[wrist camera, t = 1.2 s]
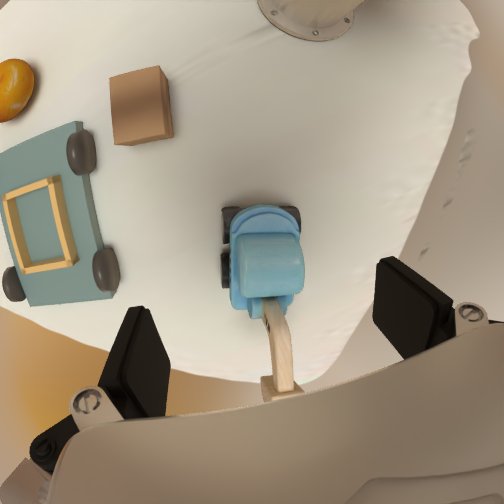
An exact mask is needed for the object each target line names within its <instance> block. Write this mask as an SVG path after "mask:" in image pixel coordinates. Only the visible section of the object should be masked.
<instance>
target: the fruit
mask: <svg viewBox="0 0 504 504" xmlns="http://www.w3.org/2000/svg"><path fill="white" fill-rule="evenodd" d="M33 86H34V75H33V72H32V70H31V68H30V66H29V65H28V63H27V62H25V61H23V60H20V59H8V60H6V61H4V62H2V63H0V123H2V122H6V121H8V120H10V119H12V118H14V117H15V116H16V115H17V114H18V113H19V112H20V111H21V110H22V109H23V108H24V107H25V106H26V104H27V102H28V100H29V98H30V96H31V94H32V91H33Z"/></svg>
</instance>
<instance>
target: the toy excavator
mask: <svg viewBox="0 0 504 504" xmlns="http://www.w3.org/2000/svg"><path fill="white" fill-rule="evenodd" d="M221 211H222V235H223V236H222V237H223V244H227V243H230V253H222V254H221V283H222V288H230V300H231V304H232V307H233V308H234V309H236V310H246V309H248V312H249V316H250V318H251V319H257V318H262V320H263V322H264V325H265V327H266V330H267V332H268V336H269V341H270V350H271V360H272V371H273V375H271V376H262V377H261V390H262V396H263V400H264V402H269V401H274V400H278V399H283V398H287V397H291V396H295V395H299V394H303V393H305V392H304V391H303V390H302V389H301V388H300V387H299V386H298V385H297V383H296V382H295V381H294V378H293V357H292V344H291V336H290V331H289V327H288V324H287V322H286V320H285V317H284V315H285V314H286V311H287V306H289V305H290V304H291V303H292V301H293V297H294V294H298V293H300V292H301V291H302V289H303V286H304V277H305V267H304V258H303V253H302V249H301V246H300V244H299V240H300V232H301V217H300V213H299V210H298V208H296V207H294V206H279V207H277V206H273V205H266V204H261V205H255V206H251V207H248V208H246V209H244V210H243V209H240V208H239V207H224V208H222V210H221Z"/></svg>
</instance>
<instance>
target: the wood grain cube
mask: <svg viewBox="0 0 504 504" xmlns="http://www.w3.org/2000/svg"><path fill="white" fill-rule="evenodd" d="M109 79H110V100H111V114H112V126H113V136H114V144H115V145H126V146H133V145H137V144H142V143H147V142H151V141H156V140H162V139H167V138H172V137H173V129H172V119H171V109H170V98H169V87H168V79H167V78H166V76H165V74H164V73H163V71H162V70H161V68H160V66H154V67H149V68H145V69H141V70H136V71H132V72H129V73H125V74H121V75H118V76H114V77H111V78H109Z"/></svg>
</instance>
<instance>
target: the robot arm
mask: <svg viewBox="0 0 504 504" xmlns="http://www.w3.org/2000/svg"><path fill="white" fill-rule="evenodd" d="M363 1H365V0H258V4H259V6H260V9H261V11H262V12H263V14H264V15H265V16H266V18H267V19H268V20H269V21H270V22H271V23H273V24H274V25H275V26H277V27H278V28H279V29H281V30H283V31H285V32H286V33H288V34H291V35H293V36H296V37H298V38H302V39H306V40H314V41H325V40H330V39H334V38H336V37H339V36H340V35H342V34H343V33H345V32H346V31H347V30H348V29H349V28H350V26H351V25H352V22H353V18H354V10H353V9H354V8H356V7H357V6H358V5H359V4H361V3H362V2H363ZM273 15H274V16H273ZM313 34H314V35H313ZM452 304H453V300H452V299H451V298H450V297H449V296H447V295H446V294H445V293H443V292H442V291H440V290H439V289H438V288H437V287H436V286H434V285H433V284H431V283H430V282H429V281H427V280H426V279H425V278H423V277H422V276H421V275H419V274H418V273H417V272H415V271H414V270H412V269H411V268H410V267H408V266H407V265H405V264H404V263H403V262H401V261H400V260H398V259H397V258H395V257H394V256H390V257H386V258H382V259H380V261H379V263H377V266H376V280H375V294H374V305H373V315H372V316H373V321H374V323H375V325H376V326H377V327H378V328H379V329H380V331H381V332H382V333H383V334H384V335H385V336H386V338H387V339H388V340H389V341H390V343H391V344H392V345H393V346H394V347H395V349H396V350H397V351H398V353H399V354H400V355H401V356H402V357H403V359H404V360H402V361H400V362H398V363H395V364H393V365H390V366H388V367H385V368H382V369H379V370H377V371H374V372H371V373H369V374H366V375H363V376H360V377H357V378H354V379H351V380H348V381H345V382H342V383H338V384H335V385H332V386H329V387H325V388H322V389H318V390H314V391H311V392H307V393H303V394H299V395H295V396H291V397H287V398H283V399H278V400H274V401H269V402H264V403H259V404H254V405H249V406H243V407H237V408H231V409H225V410H218V411H210V412H202V413H194V414H184V415H175V416H174V415H173V416H165V412H166V402H167V392H168V384H169V375H170V367H171V365H170V360H169V357H168V355H167V353H166V350H165V348H164V345H163V343H162V341H161V338H160V336H159V333H158V331H157V328H156V326H155V323H154V320H153V318H152V315H151V313H150V310H149V309H148V308H147V309H145V308H144V306H136V307H130V308H129V309H128V311H127V313H126V315H125V317H124V320H123V322H122V324H121V327H120V329H119V332H118V334H117V336H116V339H115V341H114V344H113V346H112V348H111V351H110V353H109V356H108V359H107V361H106V364H105V367H104V369H103V372H102V375H101V377H100V380H99V383H98V386H87V387H84V388H82V389H80V390H79V391H77V392H76V393H75V394H74V395H73V396H72V398H71V400H70V404H69V408H70V412H71V414H70V415H69V416H67V417H66V418H64V419H63V420H61V421H60V422H58V423H57V424H55V425H54V426H52V427H51V428H49V429H48V430H46V431H45V432H43V433H41V434H40V435H38V436H37V437H36V438H35V439H34V440H33V442H32V443H31V446H30V457H31V458H30V459H29V460H28V459H27V458H25V459H24V460H23V461H22V462H21V463H20V464H19V465H18V467H17V468H16V469H15V470H14V471H13V472H12V474H11V475H10V476H9V477H8V478H7V479H6V480H5V481H4V483H3V484H2V486H1V487H0V500H1V502H2V504H504V322H500V321H493V320H488V317H487V313H486V311H485V310H484V309H483V308H482V307H481V306H479V305H477V304H474V303H471V302H464V303H460V304H458V305H457V306H456V308H455V309H454V308H453V307H452Z"/></svg>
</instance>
